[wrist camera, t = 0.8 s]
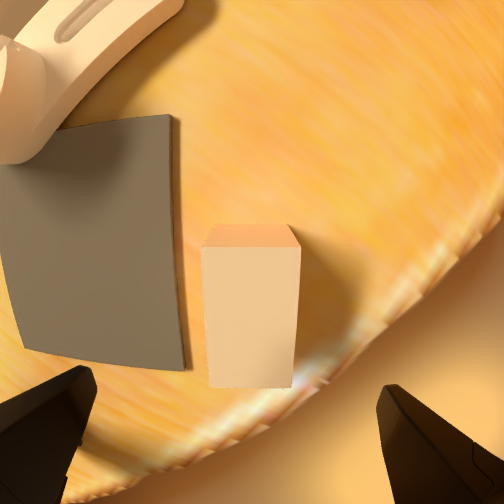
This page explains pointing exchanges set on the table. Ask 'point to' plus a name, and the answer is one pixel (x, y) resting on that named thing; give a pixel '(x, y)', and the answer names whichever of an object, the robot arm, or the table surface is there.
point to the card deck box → (250, 304)
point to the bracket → (65, 63)
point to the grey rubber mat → (95, 245)
